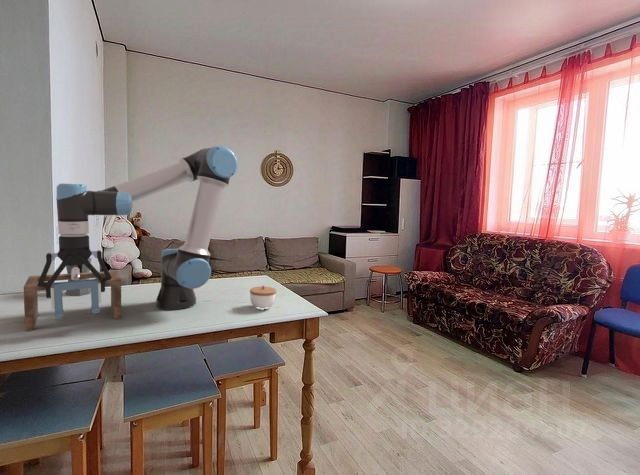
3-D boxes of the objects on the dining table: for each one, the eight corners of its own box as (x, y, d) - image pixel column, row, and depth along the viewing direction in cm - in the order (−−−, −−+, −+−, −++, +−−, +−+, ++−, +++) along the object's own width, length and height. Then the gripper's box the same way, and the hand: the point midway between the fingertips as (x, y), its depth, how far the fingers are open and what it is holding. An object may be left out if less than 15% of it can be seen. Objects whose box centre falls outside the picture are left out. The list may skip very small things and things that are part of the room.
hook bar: (79, 273, 126) (79, 266, 125) (80, 282, 113) (79, 275, 113) (71, 273, 124) (71, 267, 124) (71, 283, 112) (71, 275, 112)
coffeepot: (64, 290, 150) (63, 250, 148) (90, 288, 156) (89, 249, 154) (66, 299, 138) (65, 255, 136) (94, 296, 144) (93, 254, 142)
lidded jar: (280, 308, 142) (281, 286, 141) (260, 313, 134) (260, 290, 133) (264, 302, 149) (265, 281, 148) (244, 307, 141) (244, 284, 140)
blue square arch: (98, 307, 112) (97, 278, 111) (99, 312, 108) (98, 281, 107) (55, 313, 105) (53, 282, 104) (54, 318, 101) (52, 285, 100)
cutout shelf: (117, 305, 134) (116, 270, 133) (121, 318, 121) (121, 279, 120) (30, 315, 119) (29, 276, 118) (25, 330, 106) (23, 286, 105)
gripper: (21, 237, 94) (26, 314, 97) (119, 235, 107) (122, 302, 110) (24, 234, 100) (29, 307, 103) (117, 232, 114) (119, 296, 116)
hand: (77, 305), depth 106 cm, fingers closed on blue square arch, 11 cm apart
